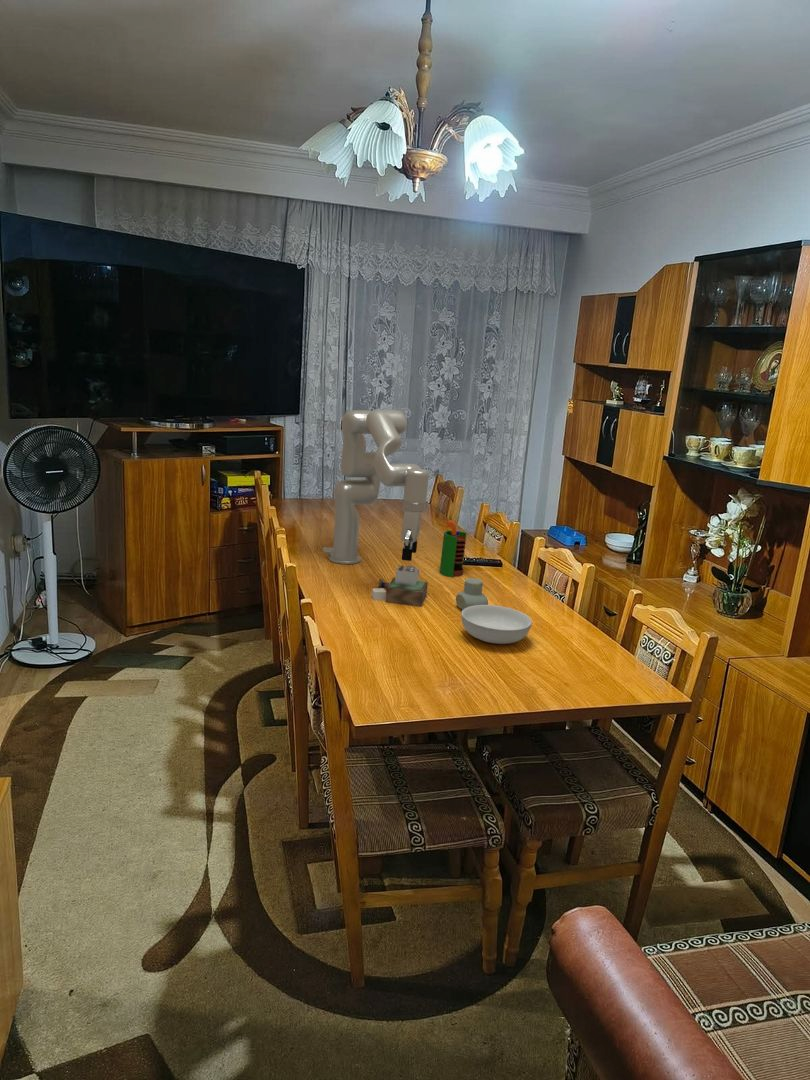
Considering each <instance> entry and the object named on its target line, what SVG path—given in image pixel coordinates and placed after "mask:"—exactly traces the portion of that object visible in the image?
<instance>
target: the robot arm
mask: <svg viewBox="0 0 810 1080" xmlns="http://www.w3.org/2000/svg"><path fill="white" fill-rule="evenodd" d="M407 424H408V421H407V418H406V416H405V414H404V413H403V412H402V411H401V410H399V409H398V410H397V409H375V410H363V409H361V410H360V409H355V410H354V409H352V410H349V411H347V412H345V413H344V414H343V417H342V419H341V432H342V437H343V439H342V440H343V441H342V448H341V449H342V450H341V460H340V472H341V474H342V476H344V477H346V478H364V479H344V480H343V479H342V480H340V481H338V482H337V483H336V484H335V485H334V487H333V498H334V528H333V529H334V530H333V546H331V547H328V546H323V547H322V552H323V553H324V554H329V555H328V560H329V561H330V562H332V563H336V564H341V565H352V564H358V563H360V562H362V556H360V555H358V551H359V550H358V549H359V535H360V534H359V532H360V520H361V519H360V514H359V512H358V510H357V509H356V507H355V506H358V505H360V506H361V505H372V504H375V503H376V502H377V500H378V499H379V494H380V489H381V484H383V485H384V486H386V487H392V488H393V487H404V489H403V497H402V499H403V500H402V507H401V509H402V510H401V511H403V512H404V513H403V519H402V525H401V533H400V541H401V542H403V545H402V550H401V551H402V552H401V560H402V561H408V562H411V561H412V559H413V554H416V553H417V548H418V537H419V536H420V530H421V521H422V514H424V513H425V512H426V505H427V497H428V486H429V477H430V476H429V475H430V474H429V471H428V470H427V469H424V468H421V467H420V466H419V465H417V464H416V463H390V462H389V461H388V460H387V457H389V456H390V455H393V454H394V453H396V452H397V451H398V450H399V449H400V448H401V446H402V439H401V438H402V437H401V436H400V435H402V434H403V433H404V432H405V431H406V429H407V427H408V425H407ZM364 435H371V437H372V439H373V441H374V443H375V445H376V447H377V449H376V451H375V452H369V451H368V452H367V451H366V445H367V441H366V438H365V436H364Z"/></svg>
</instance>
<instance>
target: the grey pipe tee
mask: <svg viewBox="0 0 810 1080" xmlns="http://www.w3.org/2000/svg"><path fill="white" fill-rule="evenodd" d="M483 584H484V582H483V581H482V580H481V579H479V578H473V577H469V578H466V579H465V580H464V586H463V590H462V591H460V592H459V593H457V594H456V595H455V603H456V605H457V606H458V608H460V609H461V611H463V610H464V609H465V608H467V607H470V606H475V605H489V599H488V597H487V596H486V595H485V593H483Z"/></svg>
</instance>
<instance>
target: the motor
mask: <svg viewBox="0 0 810 1080" xmlns="http://www.w3.org/2000/svg"><path fill="white" fill-rule="evenodd" d="M446 528H451V530H445V531H444V532H443V538H442V548H441V557H440V565H439V574H440V575H442V576H445V577H449V578H454V577H462V576H463V575H464V567H463V565H464V559H465V552H466V551H465V550H466V541H467V534H468V533H467V532H465V531H460V530H457V524H456V523H455V522H454V520H453V521H452V520H448V521H446Z"/></svg>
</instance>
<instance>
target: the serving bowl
mask: <svg viewBox="0 0 810 1080" xmlns="http://www.w3.org/2000/svg"><path fill="white" fill-rule="evenodd" d="M460 614H461V615H460V617H461V622H462V626H463V627H464V630H466V632H467V633H468V634H469V635H470V636H472V637H473V638H476V639H478V640H480V641H483V642H486V643H491V644H497V645H498V644H500V645H506V644H513V643H517V642H519V641H521V640H523V639H524V638H525V637H527V635H528V634H529V632H530V630H531V628H532V623H533V620H532V619H531V617H530V616H528V615H527V614H526V613H524V612H521V611H519V610H517V609H514V608H511V607H506V606H500V605H494V604H488V605H475V606H470V607H467V608H465V609H464V610H461V613H460Z"/></svg>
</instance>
